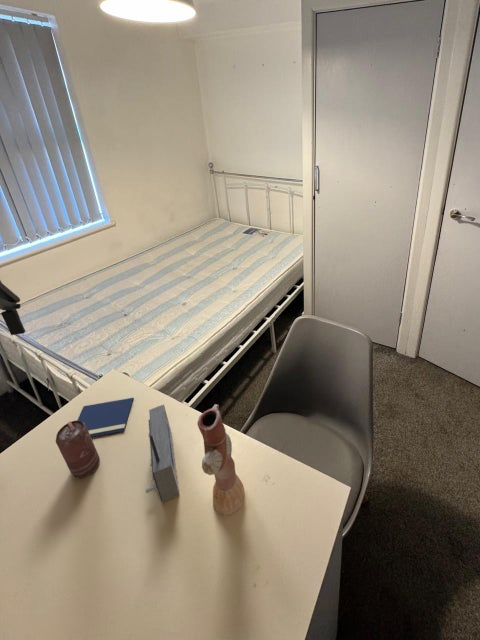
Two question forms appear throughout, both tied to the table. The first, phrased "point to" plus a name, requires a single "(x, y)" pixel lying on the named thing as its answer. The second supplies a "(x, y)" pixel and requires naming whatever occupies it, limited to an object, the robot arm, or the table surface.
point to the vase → (220, 462)
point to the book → (106, 417)
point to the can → (77, 449)
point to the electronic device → (162, 455)
